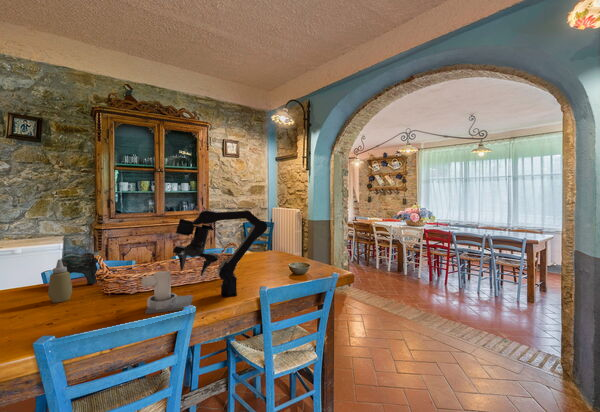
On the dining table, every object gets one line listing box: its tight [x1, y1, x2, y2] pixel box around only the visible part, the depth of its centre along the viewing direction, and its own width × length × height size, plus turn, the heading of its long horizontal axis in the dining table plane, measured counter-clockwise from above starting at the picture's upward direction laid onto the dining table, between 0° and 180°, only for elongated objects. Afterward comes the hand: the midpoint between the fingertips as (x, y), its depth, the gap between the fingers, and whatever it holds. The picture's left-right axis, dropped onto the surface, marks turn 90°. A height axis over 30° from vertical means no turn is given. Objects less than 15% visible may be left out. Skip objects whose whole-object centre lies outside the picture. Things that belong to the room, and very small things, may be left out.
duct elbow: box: [141, 270, 172, 301], centre depth 114 cm, size 10×6×13 cm, turn 132°
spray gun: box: [60, 245, 102, 285], centre depth 144 cm, size 20×6×20 cm, turn 93°
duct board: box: [145, 292, 194, 315], centre depth 117 cm, size 16×14×4 cm
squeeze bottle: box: [47, 258, 73, 303], centre depth 122 cm, size 8×8×18 cm
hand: (191, 272), depth 124 cm, fingers open, 9 cm apart
